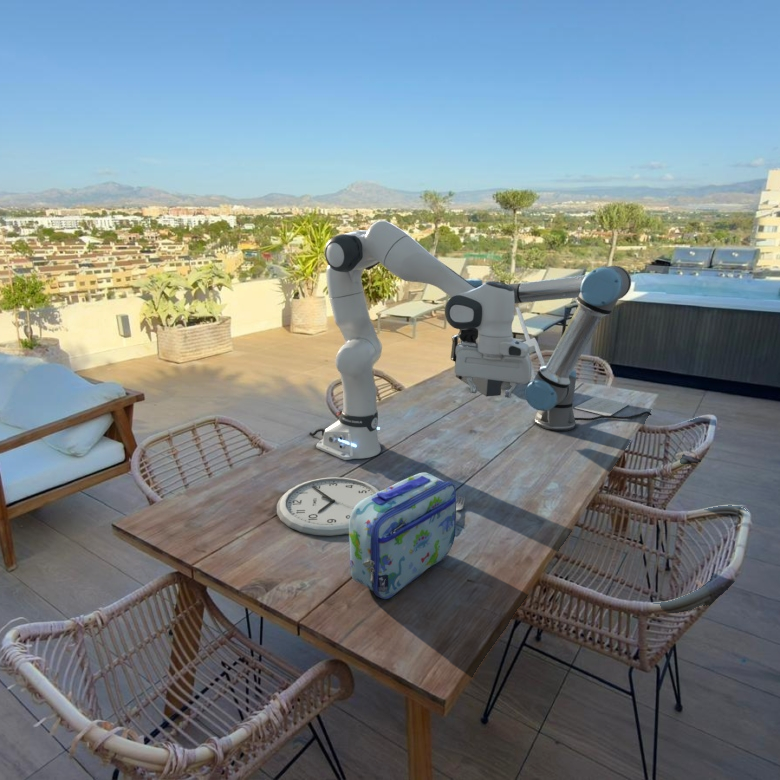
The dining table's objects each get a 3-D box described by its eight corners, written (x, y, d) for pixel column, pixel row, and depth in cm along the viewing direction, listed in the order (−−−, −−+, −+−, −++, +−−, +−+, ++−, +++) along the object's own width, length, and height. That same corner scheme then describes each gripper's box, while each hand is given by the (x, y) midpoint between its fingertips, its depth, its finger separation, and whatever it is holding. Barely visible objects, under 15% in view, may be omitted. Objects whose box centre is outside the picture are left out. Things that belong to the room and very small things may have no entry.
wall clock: (392, 527, 129) (268, 531, 127) (391, 533, 130) (269, 537, 127) (383, 473, 158) (282, 475, 155) (383, 478, 158) (282, 480, 156)
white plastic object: (486, 418, 267) (465, 395, 242) (467, 346, 289) (447, 318, 264) (556, 394, 255) (543, 367, 230) (531, 321, 277) (516, 289, 252)
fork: (441, 530, 132) (442, 523, 131) (456, 501, 146) (456, 494, 145) (451, 532, 131) (452, 525, 130) (465, 502, 145) (465, 496, 144)
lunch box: (377, 612, 103) (378, 518, 97) (342, 586, 111) (341, 497, 104) (459, 557, 121) (465, 475, 115) (425, 538, 128) (428, 460, 122)
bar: (455, 376, 212) (456, 357, 209) (468, 375, 213) (469, 356, 211) (486, 396, 188) (488, 375, 185) (500, 395, 190) (502, 374, 187)
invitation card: (608, 416, 214) (573, 407, 224) (608, 416, 214) (573, 408, 224) (628, 404, 229) (594, 396, 238) (628, 405, 229) (594, 397, 238)
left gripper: (452, 343, 138) (450, 393, 143) (531, 351, 131) (526, 403, 135) (459, 339, 144) (456, 387, 148) (535, 346, 137) (530, 396, 141)
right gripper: (451, 322, 196) (448, 381, 203) (496, 320, 202) (491, 378, 209) (443, 319, 203) (440, 376, 210) (486, 317, 209) (482, 373, 216)
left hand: (490, 394), depth 142 cm, fingers open, 8 cm apart
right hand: (465, 377), depth 209 cm, fingers closed on bar, 6 cm apart
